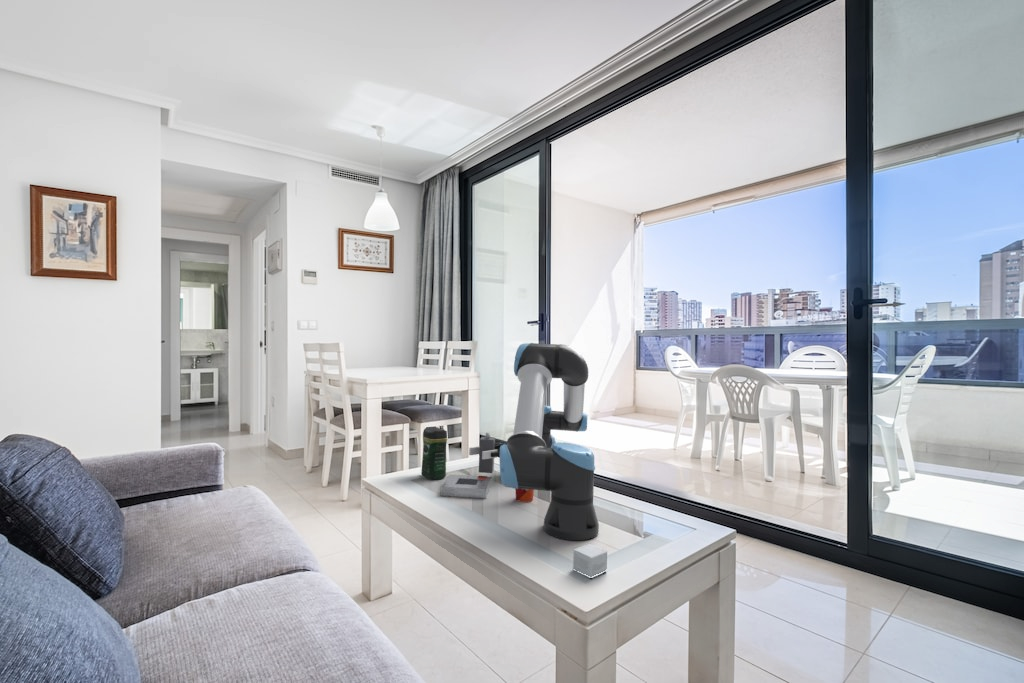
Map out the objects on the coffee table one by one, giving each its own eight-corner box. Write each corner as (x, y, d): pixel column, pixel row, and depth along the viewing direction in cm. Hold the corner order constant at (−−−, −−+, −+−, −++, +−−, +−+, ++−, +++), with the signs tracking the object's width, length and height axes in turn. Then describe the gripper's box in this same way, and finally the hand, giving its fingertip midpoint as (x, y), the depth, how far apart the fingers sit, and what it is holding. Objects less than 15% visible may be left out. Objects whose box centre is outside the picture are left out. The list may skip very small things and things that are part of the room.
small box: (588, 563, 114) (589, 542, 114) (607, 573, 110) (608, 551, 110) (571, 570, 110) (572, 548, 111) (590, 580, 106) (591, 558, 106)
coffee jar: (449, 478, 180) (450, 428, 180) (429, 481, 175) (431, 430, 175) (437, 472, 188) (439, 424, 188) (418, 474, 183) (420, 425, 183)
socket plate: (486, 498, 159) (486, 488, 159) (440, 495, 160) (441, 485, 160) (491, 485, 174) (491, 475, 174) (449, 482, 175) (450, 473, 175)
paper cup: (528, 504, 154) (530, 460, 154) (508, 500, 158) (509, 457, 158) (540, 498, 160) (541, 456, 161) (520, 494, 165) (521, 452, 165)
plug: (492, 473, 176) (493, 434, 176) (478, 472, 176) (480, 433, 176) (493, 469, 181) (495, 432, 181) (480, 469, 181) (481, 431, 181)
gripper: (540, 461, 183) (493, 469, 168) (506, 451, 198) (459, 458, 183) (541, 441, 183) (493, 448, 168) (506, 433, 198) (460, 438, 183)
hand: (476, 453), depth 175 cm, fingers closed on plug, 7 cm apart
